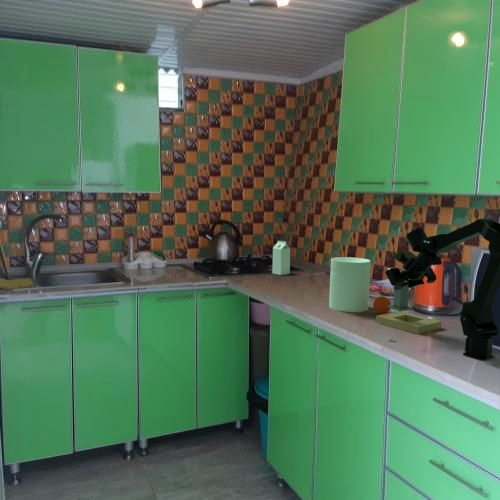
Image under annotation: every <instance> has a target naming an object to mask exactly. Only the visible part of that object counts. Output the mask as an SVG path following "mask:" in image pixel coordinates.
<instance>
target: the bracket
mask: <svg viewBox="0 0 500 500" xmlns="http://www.w3.org/2000/svg"><path fill="white" fill-rule="evenodd" d="M401 271H402V270H400V272H401ZM406 284H407V286H405V287H403V288H400V289H398V290H396V291H395V290H394V289H393V304H391V305H388V308H391V309H392V310H395V311H396V312H397V311H401V312H406V311H413V310H414V307H412V306H410V305H408V304H409V289H410V288H409V280H408V281H406ZM391 309H390V310H391Z"/></svg>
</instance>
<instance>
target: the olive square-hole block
mask: <svg viewBox="0 0 500 500" xmlns="http://www.w3.org/2000/svg"><path fill="white" fill-rule="evenodd" d="M375 323H376V324H380V325H382V326H387V327H391V328H394V329H399V330H401V331H405V332H408V333H413V334H416V335H420V333H421V334H424V333H428V332H431V331H435V330H439V329H442V325H443V324H442V323H443V321H442V320H439V319H434V318H431V317H425V316H423V315H422V316H421V315H418V314H413V313H409V312H406V311H397V310H396V311H394V312H387V313H385V314H378V315H375Z"/></svg>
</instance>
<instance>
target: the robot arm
mask: <svg viewBox="0 0 500 500" xmlns="http://www.w3.org/2000/svg"><path fill="white" fill-rule="evenodd" d="M480 236H481V237H482V238H483V239H484V240H486V241H487V242H488V252H489V258H488V262H486V263H487V264H486V266H485V269H484V272H483V274H482V277H481V280H480V283H479V285H478V288H477V291H476V293H475V295H474V298H473V300H472V301H465V302H464V303H463V304H462V308H461V311H460V312H459V314H460V315H459V317H460V318H459V322H460V323H461V328H462V334H463V336H466V338H465V340H464V341H465V344H464V352H463V353H462V355H463V356H466V357H470V358H473V359H477V360H480V361H487V360H490V359H493V358H494V357H495V354H493V344H494V337H497V336H498V334H499V332H500V329H499V328H498V327H497V325H496V324H495V322H494V320H493V317H494V310H493V302H494V299H495V297H496V294H497V293H498V289H499V286H500V223H499V222H497V221H496V220H494V219H491V218H478V219H475V221H472V222H470V223H468V224H465V225H463V226H461V227H459V228H457V229H454V230H452V231H449V232H447V233H439V234H433V235H430V236H427V234H426V232H425V230H424V228H423V227H419V226H418V227H416V229H413V230H410V232H407V234H405V240H406V241H407V243H408V245H409V246H410V248H411V250H412V251H409V250H404V251H403V250H402V251H398V252H397V253H395V257H394V259H395V260H396V261H397V262H399V263H401V264H402V269H403V270H400V268H399V267H388V268H387V269H386V270H385V272H384V273H385V275H386V277H387V279H388V281H389V283H390V284H391V286H393V291H394V290H395V291H396V290H398V289H400V288H403V287H405V286H407V284H406V281H408V280H409V289H412V288H415V287H418V286H421V285H422V286H423V285H425V281H424V279H425V277H426V278H427V279H426V283H427V284H434V283H435V282H436V281H437V275H436V273H435V271H434V270H433V268H432V266H440V265H441V266H442V265H443V261H442V256H439V254H448V253H450V252H451V251H453V250H454V249H455V248H457V245H459V244H462V243H464V242H466V241H469V240H471V239H473V238H476V237H480ZM413 252H416V253H417V255H415V254H414V253H413ZM400 271H401V272H400Z"/></svg>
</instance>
